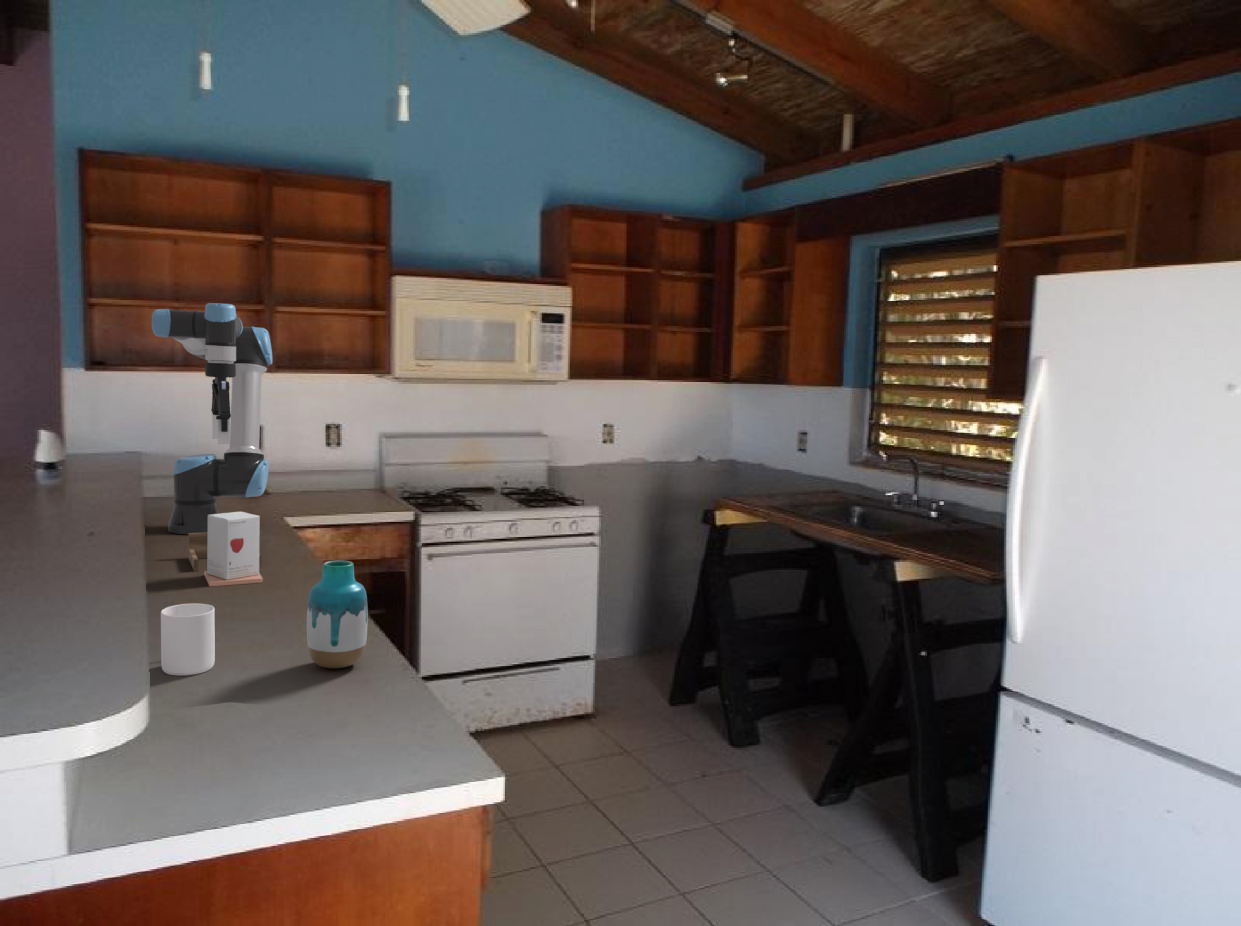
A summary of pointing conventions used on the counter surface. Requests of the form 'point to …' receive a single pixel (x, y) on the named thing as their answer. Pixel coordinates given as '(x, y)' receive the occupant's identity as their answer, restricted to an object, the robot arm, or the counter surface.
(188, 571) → the counter surface
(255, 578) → the terracotta tile
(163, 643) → the mug
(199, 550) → the wooden u-shaped frame
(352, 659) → the vase
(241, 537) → the supplement box
